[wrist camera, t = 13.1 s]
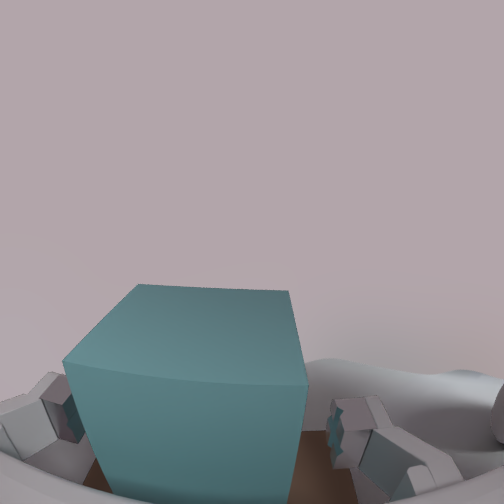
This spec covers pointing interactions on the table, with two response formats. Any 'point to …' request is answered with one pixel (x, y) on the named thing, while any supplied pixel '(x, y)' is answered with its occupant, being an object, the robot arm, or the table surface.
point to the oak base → (304, 476)
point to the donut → (498, 416)
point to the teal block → (193, 395)
